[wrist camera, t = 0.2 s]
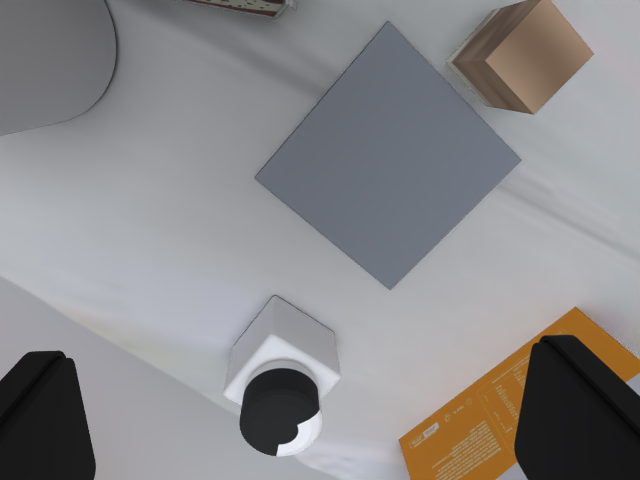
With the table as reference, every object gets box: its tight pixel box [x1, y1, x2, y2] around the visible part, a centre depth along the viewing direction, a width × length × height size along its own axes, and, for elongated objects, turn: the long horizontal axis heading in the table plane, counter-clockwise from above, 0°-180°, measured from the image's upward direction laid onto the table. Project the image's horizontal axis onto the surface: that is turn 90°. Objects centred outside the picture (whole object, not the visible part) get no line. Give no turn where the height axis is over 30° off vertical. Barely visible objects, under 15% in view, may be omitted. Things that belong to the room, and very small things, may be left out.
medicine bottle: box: [223, 296, 341, 456], centre depth 39 cm, size 7×7×12 cm
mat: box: [255, 21, 521, 290], centre depth 39 cm, size 16×16×1 cm
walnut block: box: [445, 0, 594, 115], centre depth 33 cm, size 5×5×8 cm
